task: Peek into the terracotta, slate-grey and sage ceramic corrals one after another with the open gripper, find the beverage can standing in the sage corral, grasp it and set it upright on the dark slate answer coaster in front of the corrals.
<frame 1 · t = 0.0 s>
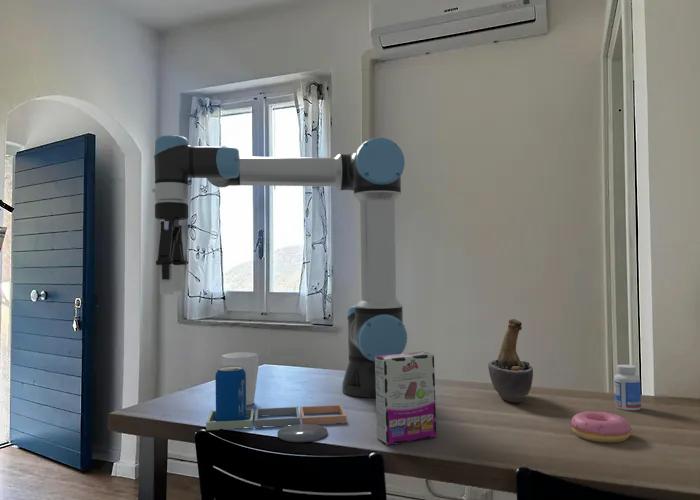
hand: (172, 293, 131), 28 cm above the table, fingers open, 13 cm apart
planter: (510, 399, 140), on the table
candy bar box: (406, 439, 110), on the table
sage corral: (231, 422, 122), on the table
doughnut: (600, 437, 110), on the table
beverage can: (231, 423, 122), resting in sage corral
grey tapered cylinder: (240, 404, 139), on the table
pill bottle: (627, 408, 130), on the table
terracotta corral: (322, 418, 125), on the table
slate-grey corral: (277, 420, 123), on the table
answer coaster: (302, 434, 113), on the table
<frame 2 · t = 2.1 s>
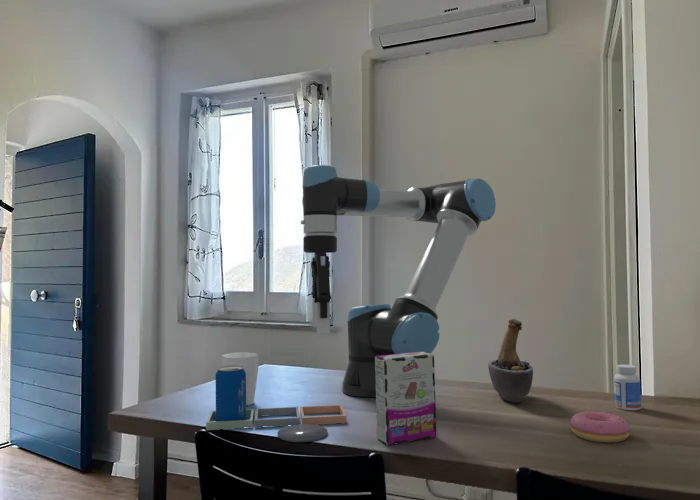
hand: (320, 330, 125), 20 cm above the table, fingers open, 13 cm apart
nothing on the table moved.
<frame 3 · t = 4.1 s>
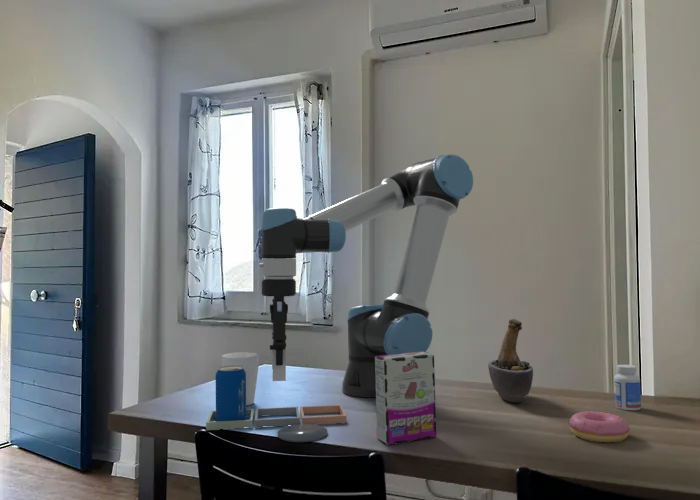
hand: (278, 374, 123), 10 cm above the table, fingers open, 13 cm apart
nothing on the table moved.
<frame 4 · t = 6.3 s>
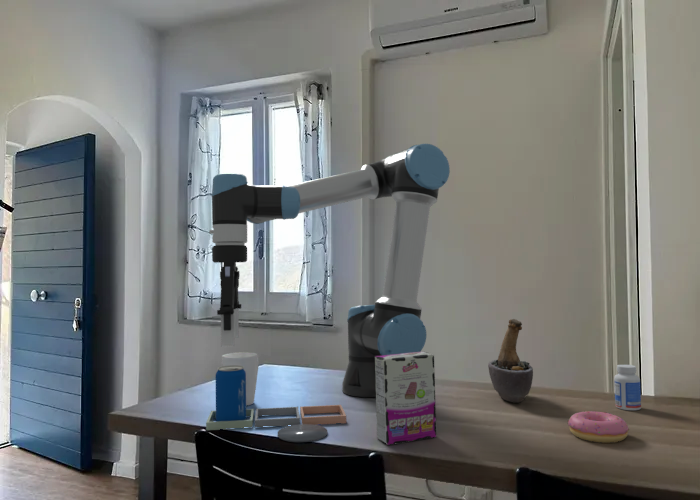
hand: (230, 341, 122), 18 cm above the table, fingers open, 13 cm apart
nothing on the table moved.
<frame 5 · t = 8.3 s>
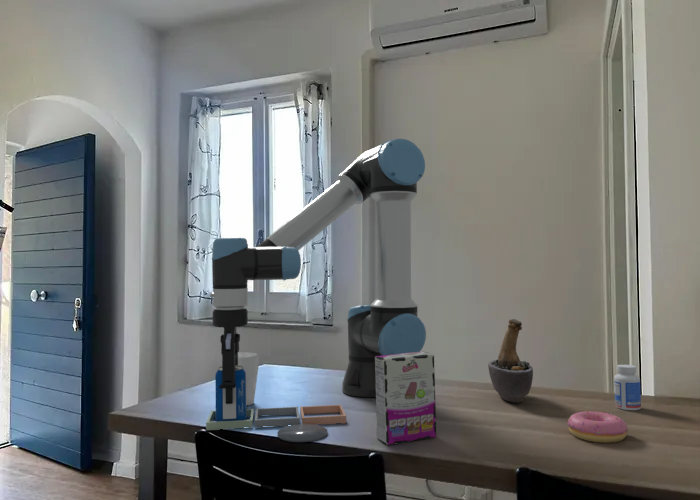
hand: (230, 413, 122), 2 cm above the table, fingers closed on beverage can, 6 cm apart
beverage can: (230, 423, 122), resting in sage corral, touching gripper
everything else where it was.
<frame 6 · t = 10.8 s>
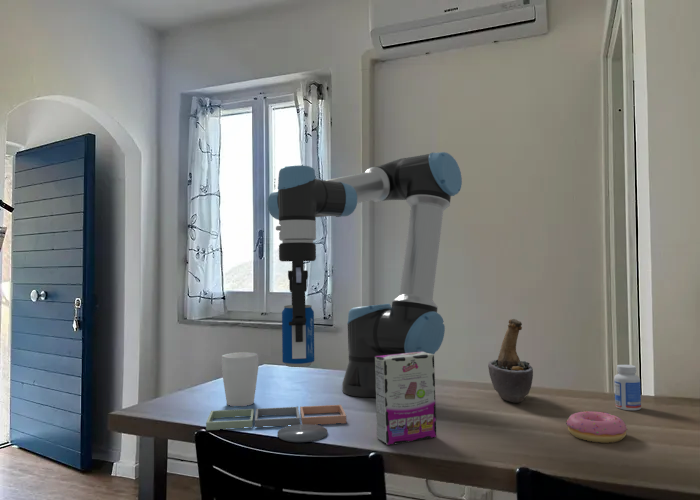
hand: (298, 355, 114), 16 cm above the table, fingers closed on beverage can, 6 cm apart
beverage can: (298, 365, 114), point 14 cm above the table, touching gripper
everything else where it was.
when the fingers open (4 cm above the table, at t = 13.5 s): beverage can drops 1 cm, resting on answer coaster.
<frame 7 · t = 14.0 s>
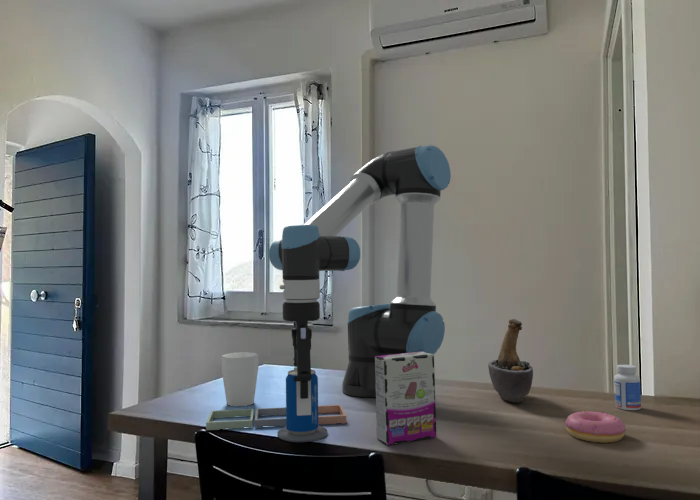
hand: (302, 406, 113), 6 cm above the table, fingers open, 13 cm apart
beverage can: (302, 432, 113), resting on answer coaster
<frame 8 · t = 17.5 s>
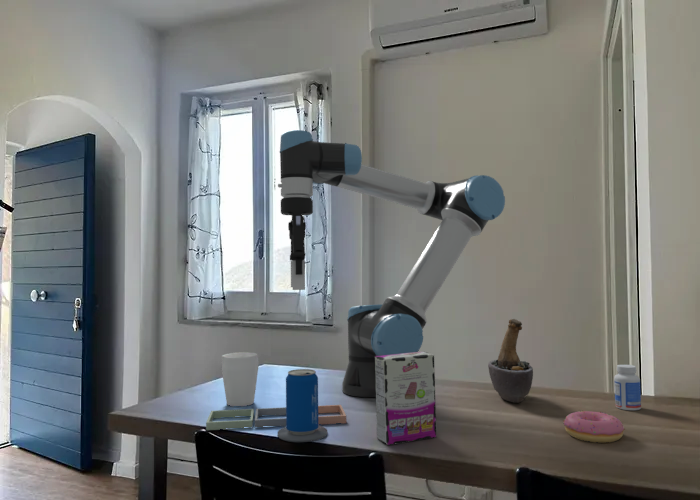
hand: (297, 288, 131), 29 cm above the table, fingers open, 13 cm apart
at the end: beverage can 0.0 cm from the answer coaster (horizontally); beverage can tilted 0°; the gripper is holding nothing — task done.
